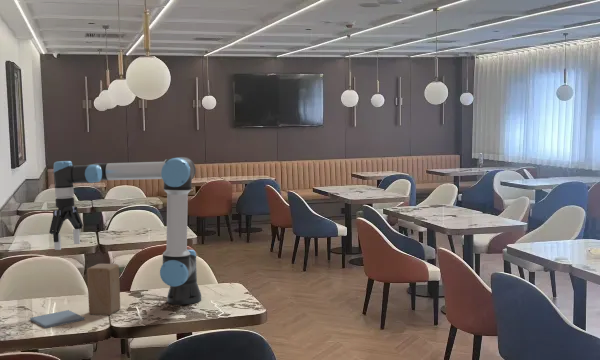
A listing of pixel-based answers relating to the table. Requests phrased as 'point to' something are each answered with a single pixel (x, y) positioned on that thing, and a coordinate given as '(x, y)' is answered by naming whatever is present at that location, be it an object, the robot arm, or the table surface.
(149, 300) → the table surface
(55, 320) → the slate plate
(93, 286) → the wooden block
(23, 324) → the table surface
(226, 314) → the table surface
